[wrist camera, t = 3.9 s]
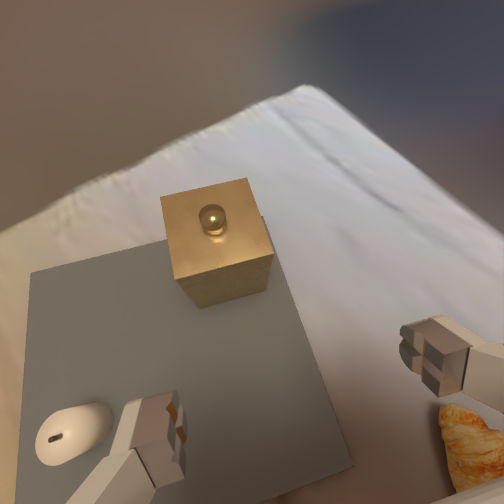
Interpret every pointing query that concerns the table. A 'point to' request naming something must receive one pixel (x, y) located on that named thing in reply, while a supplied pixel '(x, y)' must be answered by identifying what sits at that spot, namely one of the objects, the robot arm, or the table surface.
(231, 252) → the brass knob block
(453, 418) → the croissant
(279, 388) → the charcoal mat
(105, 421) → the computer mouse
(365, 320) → the table surface
